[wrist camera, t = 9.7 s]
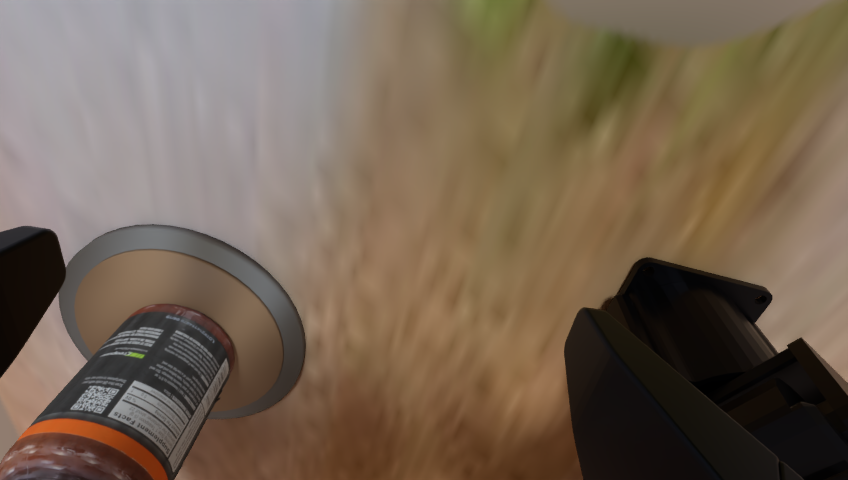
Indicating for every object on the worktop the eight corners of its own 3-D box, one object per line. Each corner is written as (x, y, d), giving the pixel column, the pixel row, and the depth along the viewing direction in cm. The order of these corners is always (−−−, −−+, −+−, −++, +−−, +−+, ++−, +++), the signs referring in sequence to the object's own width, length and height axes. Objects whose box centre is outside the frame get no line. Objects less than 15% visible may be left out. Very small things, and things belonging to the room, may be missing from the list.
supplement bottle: (174, 393, 29) (24, 623, 19) (103, 316, 26) (-114, 537, 16) (261, 367, 27) (146, 603, 17) (195, 283, 24) (16, 505, 15)
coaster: (320, 261, 24) (316, 271, 24) (292, 430, 31) (287, 442, 30) (50, 195, 23) (36, 203, 23) (80, 383, 30) (70, 395, 29)
